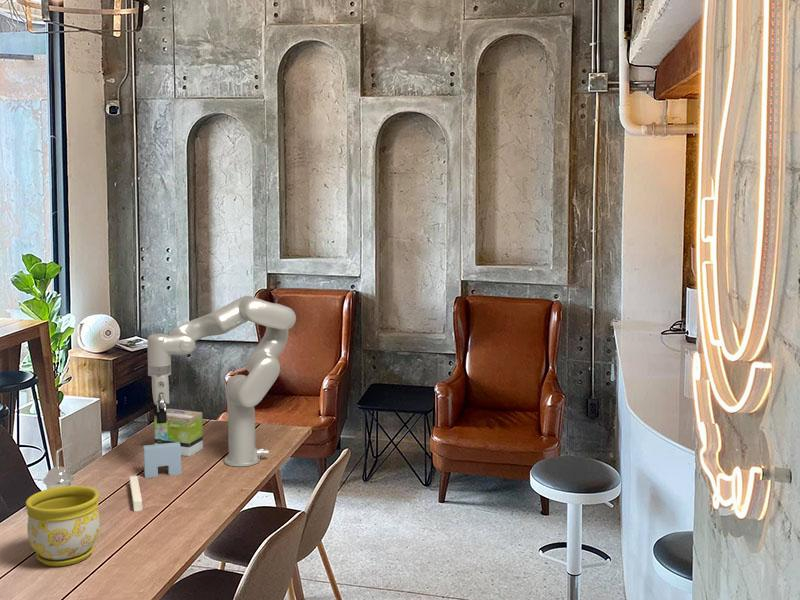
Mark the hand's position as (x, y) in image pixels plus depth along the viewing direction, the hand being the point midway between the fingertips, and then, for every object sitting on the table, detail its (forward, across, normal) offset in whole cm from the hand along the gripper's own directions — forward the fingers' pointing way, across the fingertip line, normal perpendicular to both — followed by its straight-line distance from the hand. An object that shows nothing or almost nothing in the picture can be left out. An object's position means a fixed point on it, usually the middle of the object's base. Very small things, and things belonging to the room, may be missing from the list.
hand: (160, 419), depth 281 cm
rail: (+20, -20, +10) cm, 29 cm away
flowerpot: (+20, -58, +30) cm, 68 cm away
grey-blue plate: (+19, 0, 0) cm, 19 cm away
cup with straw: (+20, -24, +32) cm, 44 cm away
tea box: (+20, +24, -8) cm, 32 cm away
